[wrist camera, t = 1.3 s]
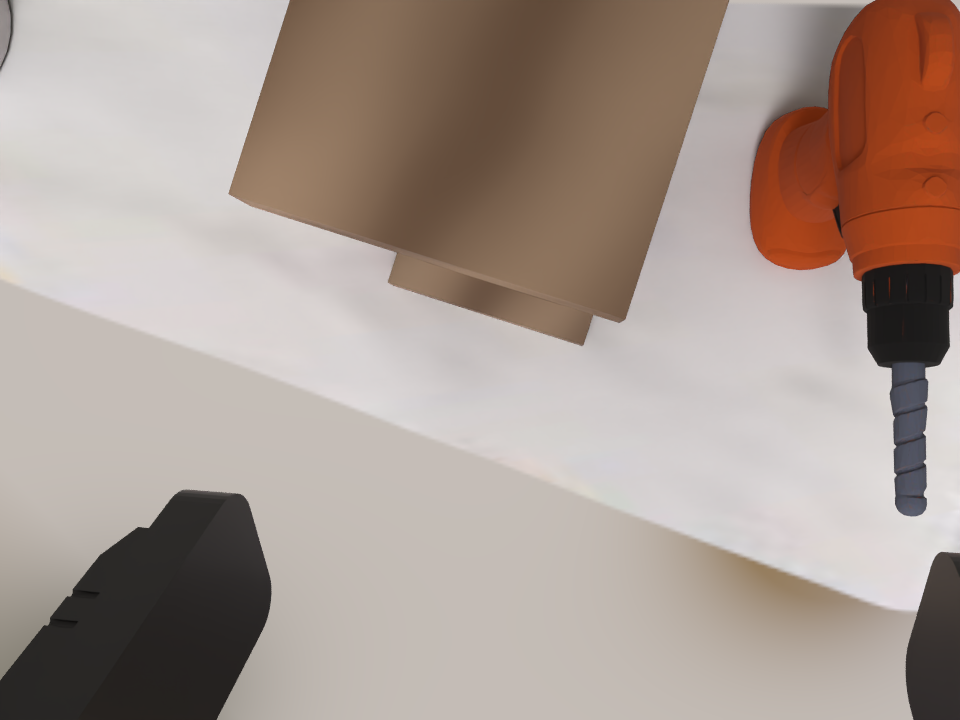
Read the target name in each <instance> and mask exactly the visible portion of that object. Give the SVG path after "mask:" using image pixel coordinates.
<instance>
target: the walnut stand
mask: <svg viewBox="0 0 960 720" xmlns="http://www.w3.org/2000/svg"><path fill="white" fill-rule="evenodd" d="M728 2H729V0H290V2H289V5H288V8H287V11H286V15H285V18H284V21H283V24H282V27H281V30H280V33H279V37H278V40H277V43H276V46H275V49H274V52H273V55H272V59H271V62H270V65H269V68H268V71H267V74H266V77H265V81H264V84H263V87H262V90H261V93H260V96H259V99H258V102H257V106H256V109H255V112H254V115H253V118H252V121H251V124H250V128H249V131H248V134H247V137H246V140H245V143H244V146H243V150H242V153H241V156H240V159H239V162H238V165H237V168H236V172H235V175H234V178H233V181H232V184H231V187H230V190H229V194H230V195H231V196H233V197H235V198H237V199H239V200H240V201H242V202H244V203H246V204H248V205H249V206H252V207H255V208H258V209H261V210H265V211H268V212H271V213H274V214H277V215H280V216H284V217H287V218H290V219H293V220H296V221H299V222H302V223H306V224H309V225H312V226H315V227H318V228H321V229H325V230H328V231H331V232H334V233H337V234H340V235H343V236H347V237H350V238H353V239H356V240H359V241H362V242H366V243H369V244H372V245H375V246H378V247H381V248H385V249H388V250H391V251H394V252H397V255H396V258H395V262H394V265H393V268H392V271H391V274H390V277H389V280H388V283H390V284H392V285H393V286H397V287H400V288H403V289H406V290H409V291H412V292H415V293H418V294H422V295H425V296H428V297H431V298H434V299H437V300H440V301H443V302H447V303H450V304H453V305H456V306H459V307H462V308H465V309H468V310H472V311H475V312H478V313H481V314H484V315H487V316H490V317H493V318H497V319H500V320H503V321H506V322H509V323H512V324H515V325H518V326H521V327H525V328H528V329H531V330H534V331H537V332H540V333H543V334H546V335H550V336H553V337H556V338H559V339H562V340H565V341H568V342H571V343H575V344H578V345H581V346H582V345H584V341H585V338H586V335H587V332H588V329H589V326H590V323H591V320H592V317H593V315H596V316H599V317H602V318H605V319H609V320H612V321H615V322H618V323H620V322H622V321H623V320H625V318H626V315H627V312H628V309H629V306H630V303H631V300H632V297H633V294H634V291H635V288H636V285H637V282H638V279H639V275H640V272H641V269H642V266H643V263H644V260H645V257H646V254H647V251H648V248H649V245H650V242H651V239H652V236H653V233H654V229H655V226H656V223H657V220H658V217H659V214H660V211H661V208H662V205H663V202H664V199H665V196H666V193H667V190H668V187H669V183H670V180H671V177H672V174H673V171H674V168H675V165H676V162H677V159H678V156H679V153H680V150H681V147H682V144H683V141H684V137H685V134H686V131H687V128H688V125H689V122H690V119H691V116H692V113H693V110H694V107H695V104H696V101H697V98H698V95H699V91H700V88H701V85H702V82H703V79H704V76H705V73H706V70H707V67H708V64H709V61H710V58H711V55H712V52H713V48H714V45H715V42H716V39H717V36H718V33H719V30H720V27H721V24H722V21H723V18H724V15H725V12H726V9H727V6H728Z"/></svg>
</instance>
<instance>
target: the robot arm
mask: <svg viewBox="0 0 960 720" xmlns="http://www.w3.org/2000/svg"><path fill="white" fill-rule="evenodd" d="M10 34H11V15H10V10H9V5H8V0H0V66H1V64H2V62H3V59H4V57H5V55H6V52H7V48H8V43H9V39H10ZM270 603H271V580H270V576H269V572H268V569H267V565H266V562H265V558H264V555H263V551H262V548H261V545H260V541H259V537H258V534H257V530H256V527H255V524H254V520H253V517H252V513H251V509H250V506H249V503H248V501H247V500H246V498H245V497H244V496H242V495H241V494H235V493H222V492H209V491H197V490H182V491H180V492H178V493H177V494H175V495H174V496H173V497H172V499H171V500H170V501H169V503H168V504H167V505H166V506H165V508H164V509H163V510H162V512H161V513H160V514H159V516H158V517H157V518H156V520H155V521H154V522H153V523H152V525H151V526H150V527H149V528H142V527H138V528H136V529H135V530H134V531H132V532H131V533H129V534H128V535H127V536H125V537H124V538H123V539H121V540H120V541H119V542H117V543H116V544H115V545H113V546H112V547H110V548H109V549H108V550H107V551H105V552H104V553H103V554H101V555H100V556H99V557H98V558H97V560H96V561H95V562H94V563H93V565H92V566H91V567H90V568H89V570H88V571H87V572H86V574H85V575H84V576H83V577H82V579H81V580H80V581H79V582H78V584H77V585H76V586H75V587H74V588H73V594H72V596H71V597H68V596H67V597H66V598H65V600H64V601H63V602H62V603H61V605H60V606H59V607H58V609H57V610H56V611H55V612H54V614H53V615H52V616H51V617H50V623H49V625H48V626H45V625H44V626H43V627H42V629H41V630H40V631H39V632H38V634H37V635H36V636H35V638H34V639H33V640H32V641H31V643H30V644H29V645H28V646H27V647H26V649H25V650H24V651H23V652H22V654H21V655H20V656H19V657H18V659H17V660H16V661H15V662H14V664H13V665H12V666H11V668H10V669H9V670H8V671H7V672H6V674H5V675H4V676H3V678H2V679H1V680H0V720H217V718H218V715H219V714H220V712H221V710H222V708H223V706H224V704H225V702H226V700H227V698H228V696H229V694H230V692H231V691H232V689H233V687H234V685H235V683H236V681H237V679H238V677H239V675H240V673H241V671H242V669H243V667H244V665H245V663H246V661H247V660H248V658H249V656H250V654H251V652H252V650H253V648H254V646H255V644H256V642H257V640H258V638H259V636H260V634H261V632H262V630H263V628H264V626H265V623H266V620H267V617H268V613H269V609H270ZM906 685H907V693H908V699H909V704H910V708H911V712H912V716H913V719H914V720H960V553H949V552H940V553H938V554H937V556H936V557H935V559H934V560H933V563H932V566H931V569H930V572H929V576H928V579H927V582H926V586H925V589H924V593H923V596H922V599H921V603H920V606H919V610H918V613H917V616H916V620H915V623H914V627H913V630H912V633H911V637H910V640H909V644H908V648H907V655H906Z"/></svg>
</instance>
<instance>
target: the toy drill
mask: <svg viewBox="0 0 960 720" xmlns="http://www.w3.org/2000/svg"><path fill="white" fill-rule="evenodd" d="M750 222H751V230H752V234H753V239H754V241H755V244H756V246H757V248H758V250H759V251H760V252H761V254H762V255H763V256H764V257H765V258H766V259H768V260H769V261H771V262H772V263H774V264H776V265H778V266H782V267H785V268H788V269H796V270H808V269H815V268H819V267H823V266H828V265H830V264H832V263H834V262H836V261H837V260H838V259H839V258H840V257H841V256H842V255H843V254H844V252H845V250H846V249H847V252H848V255H849V259H850V261H851V262H852V263H853V275H854V278H855V279H857V280H859V281H862V305H863V311H864V312H866V313H867V337H868V350H869V351H870V353H871V355H872V356H873V358H874V360H875V361H876V363H877V365H878V366H880V367H887V368H892V388H891V391H890V400H891V405H892V411H893V415H894V417H895V419H894V421H893V428H894V444H895V445H896V448H895V449H894V473H895V474H897V476H896V477H895V479H894V481H895V494H896V497H895V505H896V508H897V509H898V511H899V512H900V513H902V514H903V515H907V516H918V515H921V514H922V513H923V512H924V511H925V510H926V506H927V499H926V498H925V497H924V491H925V489H926V487H927V483H926V465H925V464H924V463H923V462H924V460H926V436H925V435H924V434H923V432H924V431H925V429H926V418H927V406H926V405H925V402H926V401H927V397H928V380H927V379H926V378H925V368H926V367H933V366H938V365H940V363H941V361H942V360H943V358H944V356H945V354H946V352H947V351H948V349H949V347H950V338H949V310H950V309H951V308H952V307H953V296H954V294H953V275H955V274H958V273H959V272H960V12H959V10H958V9H957V7H956V6H955V4H954V3H952V2H951V1H950V0H875V1H873V2H872V3H870V4H868V5H866V6H865V7H864V8H863V9H862V10H861V11H860V13H859V14H858V15H857V16H856V17H855V18H854V19H853V21H852V22H851V24H850V25H849V27H848V28H847V30H846V31H845V33H844V35H843V37H842V39H841V41H840V43H839V45H838V47H837V50H836V52H835V55H834V58H833V61H832V65H831V71H830V79H829V90H828V109H826V108H822V107H816V106H815V107H803V108H801V109H798V110H795V111H792V112H790V113H787V114H785V115H783V116H782V117H780V118H779V119H777V120H775V121H774V122H773V123H772V124H771V126H770V127H769V128H768V129H767V130H766V132H765V134H764V136H763V138H762V141H761V143H760V145H759V148H758V151H757V155H756V158H755V162H754V168H753V174H752V180H751V192H750Z"/></svg>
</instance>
